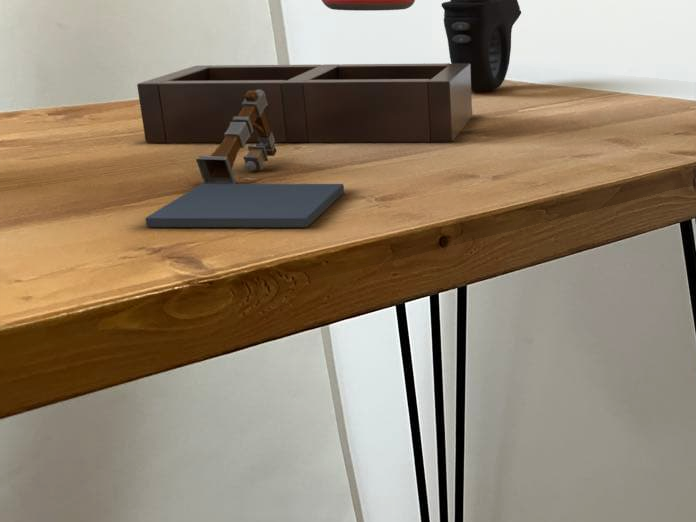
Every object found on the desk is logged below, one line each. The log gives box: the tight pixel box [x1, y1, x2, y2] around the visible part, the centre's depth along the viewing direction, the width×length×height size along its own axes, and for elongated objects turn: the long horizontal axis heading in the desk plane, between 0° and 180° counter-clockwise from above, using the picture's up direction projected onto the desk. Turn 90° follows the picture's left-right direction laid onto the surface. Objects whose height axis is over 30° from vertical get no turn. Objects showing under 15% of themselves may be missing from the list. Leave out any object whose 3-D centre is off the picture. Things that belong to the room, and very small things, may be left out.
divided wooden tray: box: [136, 62, 473, 144], centre depth 81 cm, size 22×12×4 cm, turn 86°
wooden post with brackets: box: [195, 89, 278, 184], centre depth 66 cm, size 2×8×4 cm, turn 169°
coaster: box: [145, 183, 345, 229], centre depth 58 cm, size 8×8×1 cm
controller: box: [440, 0, 522, 93], centre depth 99 cm, size 4×12×10 cm, turn 165°
